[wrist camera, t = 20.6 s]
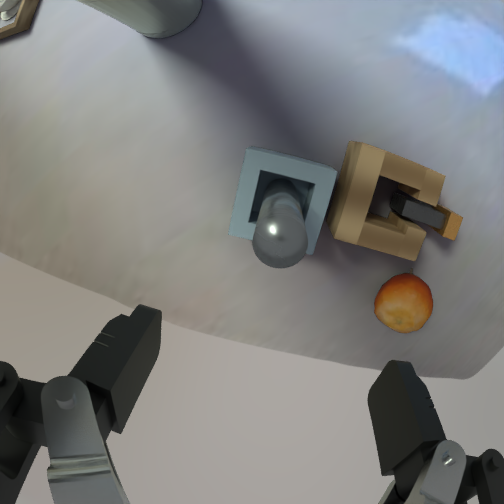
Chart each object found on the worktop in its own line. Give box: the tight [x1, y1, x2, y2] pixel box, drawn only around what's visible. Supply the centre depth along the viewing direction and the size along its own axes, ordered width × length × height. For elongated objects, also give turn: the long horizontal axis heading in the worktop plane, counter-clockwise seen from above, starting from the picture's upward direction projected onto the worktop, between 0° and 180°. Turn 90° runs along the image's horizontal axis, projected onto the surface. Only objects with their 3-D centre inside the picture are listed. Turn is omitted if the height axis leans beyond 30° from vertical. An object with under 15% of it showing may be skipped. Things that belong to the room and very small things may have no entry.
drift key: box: [390, 192, 463, 240], centre depth 30 cm, size 3×8×5 cm, turn 77°
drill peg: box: [252, 178, 308, 268], centre depth 26 cm, size 4×4×15 cm
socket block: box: [326, 141, 445, 261], centre depth 30 cm, size 10×10×6 cm
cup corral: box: [0, 0, 39, 40], centre depth 21 cm, size 15×15×4 cm
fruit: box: [374, 268, 433, 333], centre depth 34 cm, size 8×8×8 cm
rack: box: [228, 146, 337, 255], centre depth 31 cm, size 9×9×6 cm
